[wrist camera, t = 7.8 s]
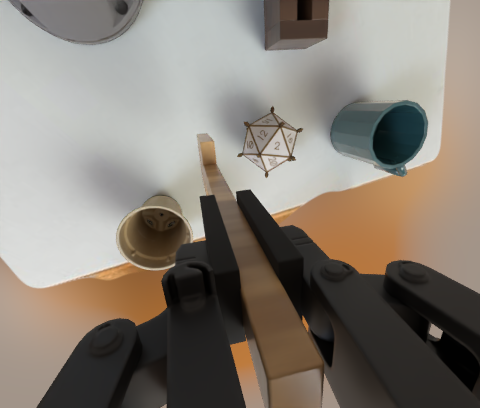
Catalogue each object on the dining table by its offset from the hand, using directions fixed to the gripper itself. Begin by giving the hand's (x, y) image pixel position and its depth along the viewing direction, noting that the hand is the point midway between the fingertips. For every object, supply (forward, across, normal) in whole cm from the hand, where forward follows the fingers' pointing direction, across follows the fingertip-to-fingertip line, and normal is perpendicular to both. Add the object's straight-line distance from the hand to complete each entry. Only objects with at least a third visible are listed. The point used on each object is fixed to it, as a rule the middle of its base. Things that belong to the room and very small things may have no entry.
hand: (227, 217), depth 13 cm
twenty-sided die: (+27, +10, 0) cm, 28 cm away
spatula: (+17, 0, 0) cm, 17 cm away
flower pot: (+27, -8, -10) cm, 29 cm away
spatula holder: (+27, +14, +17) cm, 34 cm away
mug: (+27, +26, -1) cm, 37 cm away
